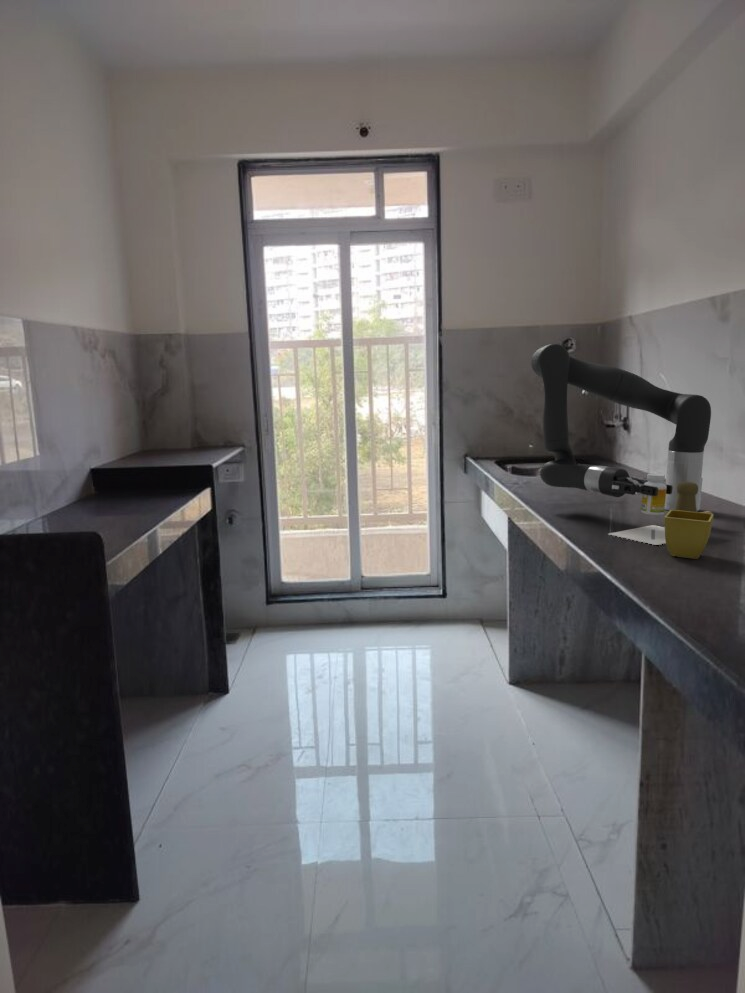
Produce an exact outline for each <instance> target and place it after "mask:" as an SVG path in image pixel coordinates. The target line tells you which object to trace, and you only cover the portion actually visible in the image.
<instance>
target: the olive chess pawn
mask: <svg viewBox="0 0 745 993" xmlns="http://www.w3.org/2000/svg"><path fill="white" fill-rule="evenodd" d="M676 490H677V493H678V498H677V502H676V506H675V510H680V511H690V512H696V498H695V495H696V494H697V493H698V486H697V484H695V483H692V482H680V483H678V485H677V487H676Z"/></svg>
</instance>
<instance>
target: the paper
mask: <svg viewBox="0 0 745 993" xmlns="http://www.w3.org/2000/svg"><path fill="white" fill-rule="evenodd" d="M607 535H608V536H610V535H612V536H611V537H615V536H617V537H616V538H619V537H621V538H620V539H623V538H626V539H625V540H628V539H630V540H629V541H632V540H634V541H633V542H636V541H638V542H637V543H641V542H643V543H642V544H645V543H648V544H647V545H649V544H652V545H651V546H653V545H659V546H661V545H662V544H663V545H666V540H665V526H659V525H655V524H651V525H646V526H641V527H636V528H631V529H630V528H629V529H626V530H620V531H616V532H615V531H613V532H610V533H607ZM663 545H662V546H663Z"/></svg>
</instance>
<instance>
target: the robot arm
mask: <svg viewBox="0 0 745 993" xmlns="http://www.w3.org/2000/svg"><path fill="white" fill-rule="evenodd" d="M530 365H531V368H532V370H533V372H534V374H535V375H537V376H538V377H540V378H542V383H543V388H544V405H543V406H544V407H543V414H542V435H543V436H542V437H543V447H544V450H545V451H546V452H548V453H552V454H553V456H554V459H555V460H551V461H548V462H545V463H544V464H543V465H542V466H541V467H540V470H539V477H540V478H541V480H542V481H543V483H544V484H546V485H548V486H550V487H554V488H569V489H570V488H573V489H579V490H583V491H587V492H592V493H595V494H599V495H604V496H609V497H613V498H622V497H623V496H624V495H625V494H627V495H630V496H631V495H632V496H634V495H639V496H640V495H642V494H645V495H650V496H657V494H658V488H657V487H653V486H648V485H644V483H646V482H648V480H647V477H644V478H641V477H638V476H630V474H629V473H628V471H627V470H626V469H624V468H619V467H612V466H605V465H594V464H587V463H578V464H577V462H576V459H575V456H574V453H573V451H572V448H571V445H570V432H569V422H568V421H569V419H568V418H569V417H568V385H570V386H573V387H576V388H579V389H580V390H582V391H585V392H587V393H589V394H592V395H594V396H597V397H599V398H600V399H601V398H602V399H603V400H607V401H609V402H612V403H615V404H617V405H622V406H625V407H628V408H631V409H636V410H641V411H645V412H649V413H651V414H654V415H656V416H658V417H659V418H662V419H664V420H666V421H668V422H670V423H672V424H674V425H675V433H674V436H673V438H672V439H671V440H669V441H668V449H667V450H668V451H667V464H666V474H665V484H666V486H667V490H666V499H665V509H664V510H666V511H668V512H669V511H670V510H675V506H676V502H677V498H678V493H677V490H676V487H677V485H678V483H680V482H692V483H695V484H697V486H698V493H697V494H696V495H695V498H696V512H699V511H700V509H701V498H702V490H703V488H702V487H703V477H702V475H703V474H702V473H703V464H704V462H703V461H704V454H705V453H704V452H705V446H706V444H707V442H708V439H709V434H710V433H709V432H710V428H711V427H710V426H711V418H712V408H711V404H710V401H709V400H708V399H707V398H706V397H704V396H702V395H699V394H691V393H690V394H689V393H688V394H687V393H680V392H675V391H671V390H669V389H668V390H667V389H664V388H661V387H659V386H656V385H654V384H653V383H651V382H650V381H648V380H646V379H645V378H643V377H641V376H639V375H638V374H636V373H633V372H631V371H627V370H625V369H622V368H619V367H616V366H611V365H606V364H601V363H594V362H588V361H583V360H580V359H577V358H575V357H573V356H571V355H570V354H569V352H568V350H567V348H565V346H563V345H561V344H560V343H550V344H547V345H544V346H541V347H540V348H538V349H536V351H535V352H534V353H533V355H532V357H531V358H530Z"/></svg>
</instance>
